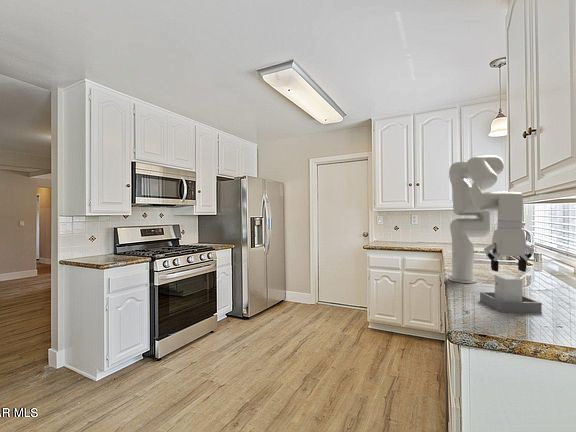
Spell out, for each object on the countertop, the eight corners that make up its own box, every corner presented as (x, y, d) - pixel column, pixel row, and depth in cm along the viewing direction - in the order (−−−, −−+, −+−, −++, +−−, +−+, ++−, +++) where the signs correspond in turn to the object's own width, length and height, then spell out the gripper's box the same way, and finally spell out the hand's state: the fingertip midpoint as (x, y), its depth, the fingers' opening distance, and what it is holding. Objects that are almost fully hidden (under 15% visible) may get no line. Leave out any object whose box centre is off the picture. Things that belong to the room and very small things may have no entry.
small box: (522, 308, 112) (522, 279, 112) (505, 308, 113) (506, 279, 112) (509, 302, 120) (510, 274, 120) (494, 301, 121) (494, 274, 120)
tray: (480, 300, 123) (480, 292, 123) (516, 301, 122) (516, 292, 122) (500, 312, 110) (501, 302, 110) (541, 312, 109) (541, 302, 109)
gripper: (527, 224, 119) (525, 268, 119) (479, 224, 120) (478, 268, 121) (541, 226, 111) (540, 273, 112) (491, 226, 112) (489, 273, 113)
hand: (508, 270), depth 116 cm, fingers open, 9 cm apart
